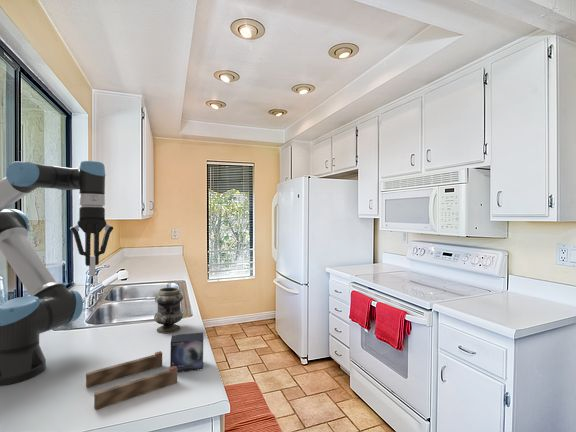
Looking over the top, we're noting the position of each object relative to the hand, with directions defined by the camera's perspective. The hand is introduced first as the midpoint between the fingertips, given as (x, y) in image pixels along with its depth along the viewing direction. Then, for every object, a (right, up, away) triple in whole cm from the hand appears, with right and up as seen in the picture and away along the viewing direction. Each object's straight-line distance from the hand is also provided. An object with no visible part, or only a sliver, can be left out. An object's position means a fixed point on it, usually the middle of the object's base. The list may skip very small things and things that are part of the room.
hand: (92, 274), depth 112 cm
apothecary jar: (+15, -30, +32) cm, 47 cm away
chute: (+20, -31, -13) cm, 39 cm away
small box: (+34, -31, -2) cm, 46 cm away
